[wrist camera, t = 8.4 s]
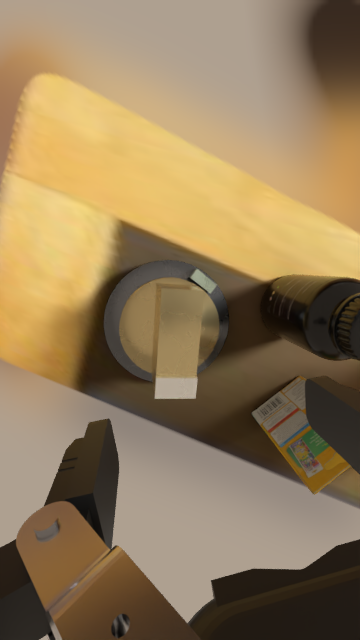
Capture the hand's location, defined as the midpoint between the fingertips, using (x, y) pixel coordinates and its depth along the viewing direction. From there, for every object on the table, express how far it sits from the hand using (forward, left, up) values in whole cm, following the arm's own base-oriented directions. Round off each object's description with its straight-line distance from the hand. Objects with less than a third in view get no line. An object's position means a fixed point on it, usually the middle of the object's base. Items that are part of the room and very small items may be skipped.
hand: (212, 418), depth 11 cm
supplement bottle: (-9, +10, -18) cm, 23 cm away
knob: (0, 0, -16) cm, 16 cm away
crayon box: (0, +17, -18) cm, 25 cm away
